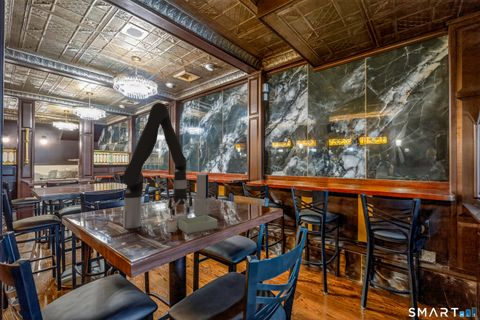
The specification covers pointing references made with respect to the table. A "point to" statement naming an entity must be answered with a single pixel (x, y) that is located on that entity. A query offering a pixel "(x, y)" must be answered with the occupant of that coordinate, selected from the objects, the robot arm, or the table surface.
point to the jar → (171, 225)
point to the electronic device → (202, 195)
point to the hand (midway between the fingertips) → (180, 214)
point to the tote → (197, 224)
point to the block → (179, 216)
